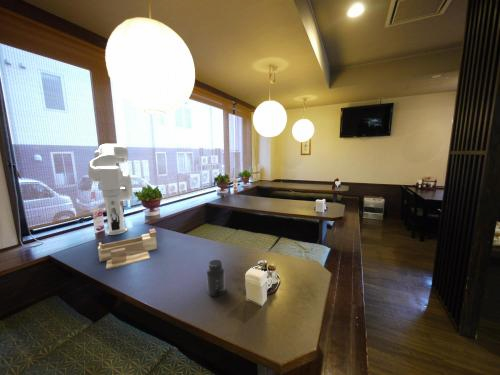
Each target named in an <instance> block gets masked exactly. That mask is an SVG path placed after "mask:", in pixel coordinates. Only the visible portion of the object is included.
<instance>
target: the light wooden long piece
mask: <svg viewBox="0 0 500 375" xmlns="http://www.w3.org/2000/svg"><path fill="white" fill-rule="evenodd" d="M157 245H158V243H157V235H156V236H155V237H150V234H149V233H144V234H141V236H138V237H132V238H128V239H124V240H123V239H122V240H118V241H111V242H108V243H104V244H102V242H98V246H97V251H98V258H99V259H98V260H99V263H101V261H102V262H105V261H106V262H107V261H108V260H112V258H111V250H116V249H120V248H125V251H126V256H129V255H133V254H138V253H142V252H146V251H148V252H149V251H153V250H157V249H158V246H157Z"/></svg>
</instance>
